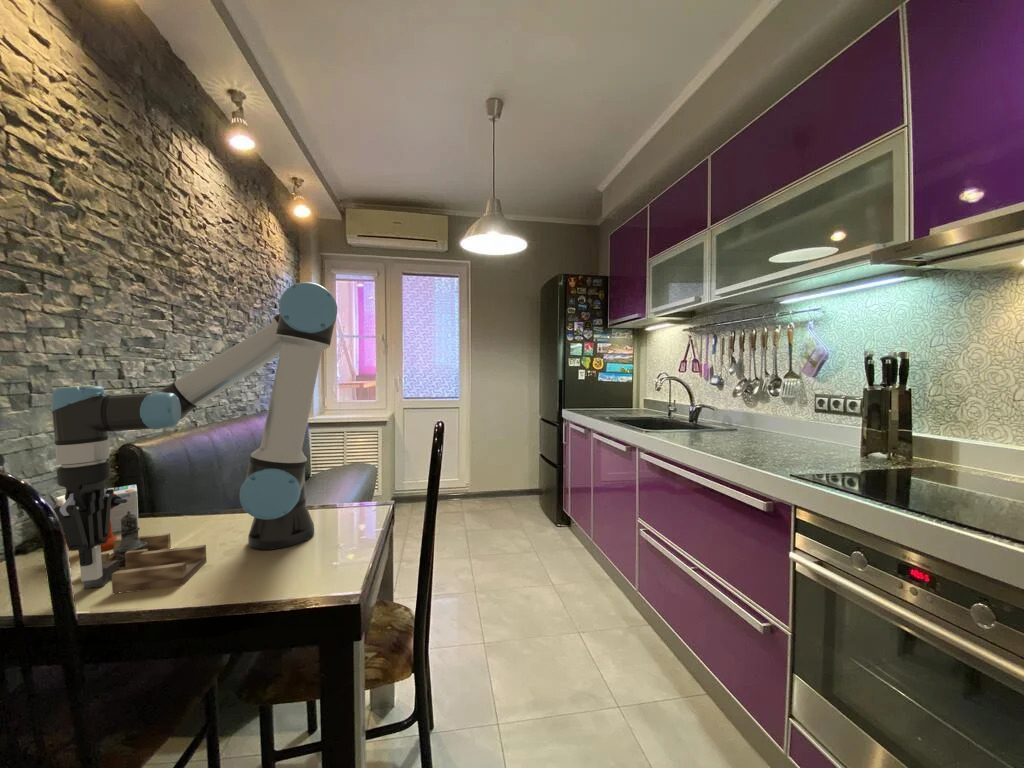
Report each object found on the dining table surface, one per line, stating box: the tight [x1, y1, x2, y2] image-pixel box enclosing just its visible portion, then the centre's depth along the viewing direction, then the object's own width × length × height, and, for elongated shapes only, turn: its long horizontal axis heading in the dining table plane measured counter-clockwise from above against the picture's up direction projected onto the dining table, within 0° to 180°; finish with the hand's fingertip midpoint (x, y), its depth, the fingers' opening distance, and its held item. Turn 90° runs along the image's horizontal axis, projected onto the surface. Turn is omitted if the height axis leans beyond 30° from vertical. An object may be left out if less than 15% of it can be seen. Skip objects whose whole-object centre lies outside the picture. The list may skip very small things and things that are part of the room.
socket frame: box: [101, 532, 172, 570], centre depth 99 cm, size 11×11×4 cm
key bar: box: [82, 559, 120, 589], centre depth 89 cm, size 3×6×4 cm, turn 15°
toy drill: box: [100, 493, 127, 552], centre depth 106 cm, size 5×19×15 cm, turn 62°
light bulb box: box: [106, 484, 139, 533], centre depth 123 cm, size 11×7×11 cm, turn 43°
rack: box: [111, 544, 208, 594], centre depth 91 cm, size 12×11×4 cm
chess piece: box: [112, 511, 147, 568], centre depth 99 cm, size 6×6×12 cm
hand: (92, 578), depth 86 cm, fingers closed
